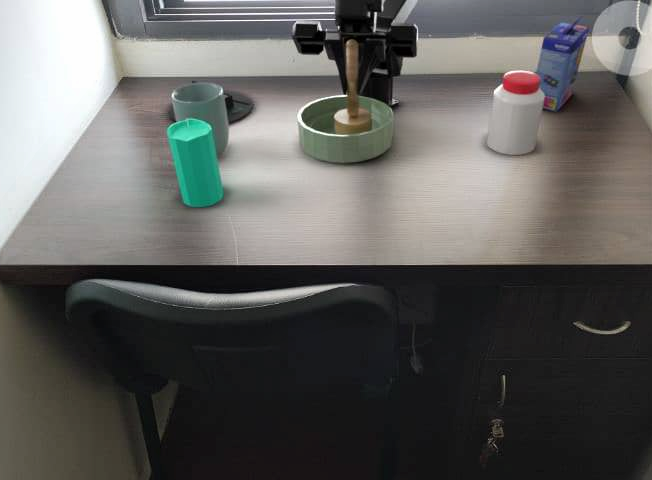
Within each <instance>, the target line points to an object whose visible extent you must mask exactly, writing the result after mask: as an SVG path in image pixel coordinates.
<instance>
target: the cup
mask: <svg viewBox="0 0 652 480" xmlns="http://www.w3.org/2000/svg"><path fill="white" fill-rule="evenodd" d="M223 91H224V89H223V88H222V87H221V86H220V85H219V84H217V83H213V82H212V83H211V82H198V83H192V82H191V83H187V84H183V85H181V86H179V87H177V88H175V90H173V91H172V93H171V104H172V105H173V109H174V113H175V118H176V122H175V123H177V122H180V121H183V120H187V119H191V118H192V119H197V120H201V121H204V122H205V123H207V124H209V125H210V126H211V128H212V133H213V139H214V144H215V150H216V155H217V157H218V156H220V155H221V154H222V153H223V152H224V151H225V150H226V149H227V147H228V144H229V139H230V128H229V127H230V126H229V125H230V124H228V116H227V110H226V103H225V97H224V93H223ZM186 118H187V119H186Z"/></svg>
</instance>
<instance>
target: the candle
mask: <svg viewBox="0 0 652 480" xmlns="http://www.w3.org/2000/svg"><path fill="white" fill-rule="evenodd" d="M186 119H187V118H186ZM166 134H167V139H168V143H169V146H170V152H171V156H172V159H173V164H174V169H175V172H176V177H177V181H178V185H179V189H180V193H181V198H182V201H183V204H185V205H187V206H188V207H194V208H205V207H209V206H210V207H211V206H213V205H215V204H217V203H218V202H220V201H221V200H222V198H223V197H224V195H225V194H224V190H223V183H222V178H221V173H220V167H219V162H218V156H217V155H216V150H215V144H214V139H213V133H212V128H211V126H210V125H209V124H207V123H205V122H204V121H201V120H197V119H192V118H191V119H187V120H183V121H180V122H174V123H172V124H170V126H169V127H168V128H167V129H166Z"/></svg>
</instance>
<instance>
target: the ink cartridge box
mask: <svg viewBox="0 0 652 480" xmlns="http://www.w3.org/2000/svg"><path fill="white" fill-rule="evenodd" d="M582 17H583V15H580V16H578V18H577V19H576V20H575V21H574V22H573V23H569V22H563V21H561V22H559V23H558V24H557V25H556V26H555V27H554V28H553V29H551V31H549V32H548V33H547V34H546V35H545V36H544V37H543V39H542V44H541V48H540V52H539V58H538V62H537V67H536V72H535V74H537V75H539V76H540V78H541V80H540V85H539V87H540V89H541V90H542V91H543V92H544V94H545V99H544V104H543V109H544V110H548V111H549V112H550V111H551V112H554V113H557V112H558V111H559V109H560V108H561V107H562V106H563V105H564V104H565V103H566V101H568V99H569V98H570V97H571V96H572V94H573V91H574V87H575V83H576V79H577V77H578V72H579V69H580V65H581V62H582V57H583V53H584V49H585V46H586V42H587V39H588V38H587V37H588V34H589V31H590V27H589V26H585V25H580V24H578V23H579V22H580V20H581V19H582ZM543 109H542V110H543Z"/></svg>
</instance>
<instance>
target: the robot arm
mask: <svg viewBox="0 0 652 480" xmlns="http://www.w3.org/2000/svg"><path fill="white" fill-rule="evenodd" d="M418 1H419V0H334V24H335V26H336V27H337V28H325V30H323V29H322V25H321V22H320V21H318V20H316V21H315V20H296V22H295V23H294V24H293V25H292V33H291V39H292V41H293V43H294V46H295V49H296V50H297V52H298V54H301V55H305V56H307V55H308V56H319V55H320V54H322V53H323V52H324V51H325V54H326V56H327V59H328V60H330V61H334V64H335V65H336V68H337V71H338V76H339V80H340V85H341V89H342V90H341V91H342V95H347V77H346V43H347V41H348V40H351V39H353V40H355V41H356V42H357V43H358V83H357V95H359V96H363V97H368V98H373V99H376V100H378V101H380V102H383V103H385V104H386V105H387V106H388V107H389V108H391V109H392V108H393V107H396V106H398V105H399V100H396V99H394V98H393V91H394V90H393V89H394V77H400V76H401V73H402V68H403V66H404V65H403V64H404V63H403V61H404V59H405V58H407V59H409V58H410V59H413V58H416V57H417V56H418V45H419V44H418V42H419V28H418V26H417V25H416V23H413V22H412V23H410V22H407V23H406V20H407V19H408V17H409V16H410V14H411V12H412V11H413V9H414V8H415V6H416V5H417V3H418Z"/></svg>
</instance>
